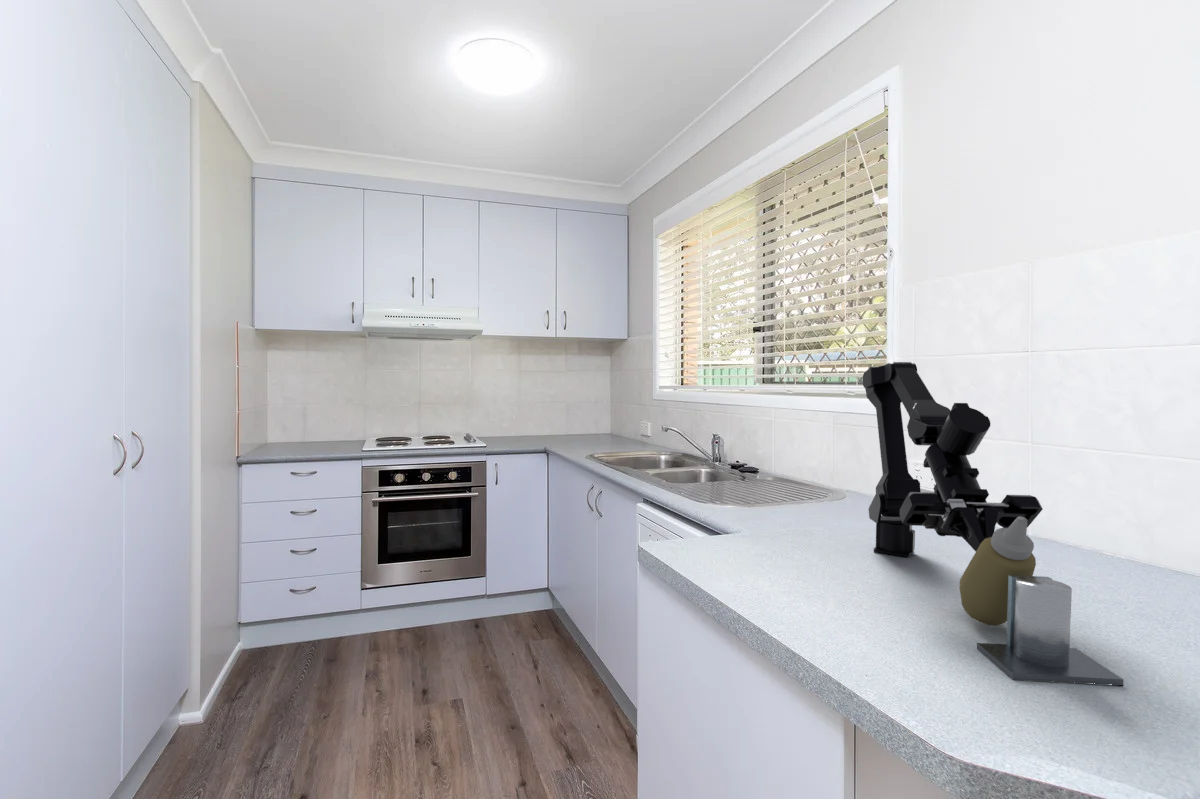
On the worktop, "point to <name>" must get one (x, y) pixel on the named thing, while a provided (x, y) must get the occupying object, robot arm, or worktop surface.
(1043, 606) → the bookend
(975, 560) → the squeeze bottle
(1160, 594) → the worktop surface
